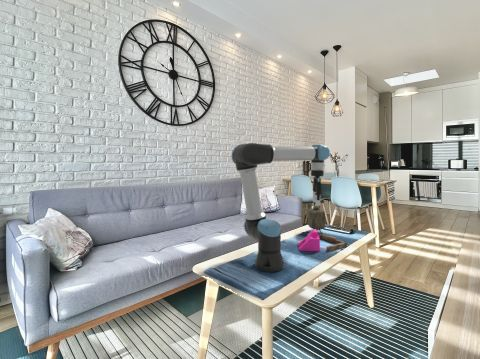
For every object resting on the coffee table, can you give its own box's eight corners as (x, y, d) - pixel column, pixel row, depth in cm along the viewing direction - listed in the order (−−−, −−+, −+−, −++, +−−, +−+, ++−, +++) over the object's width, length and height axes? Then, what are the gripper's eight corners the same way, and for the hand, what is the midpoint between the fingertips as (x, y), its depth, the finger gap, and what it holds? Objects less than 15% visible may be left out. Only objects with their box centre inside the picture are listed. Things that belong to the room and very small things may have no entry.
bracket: (316, 245, 160) (316, 229, 159) (319, 251, 150) (319, 234, 149) (297, 245, 161) (297, 229, 161) (299, 250, 151) (299, 234, 150)
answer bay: (328, 251, 149) (328, 246, 149) (303, 241, 168) (303, 236, 168) (346, 246, 156) (346, 241, 156) (321, 237, 175) (321, 232, 175)
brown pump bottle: (324, 235, 179) (325, 201, 177) (312, 235, 180) (312, 201, 178) (318, 229, 194) (319, 198, 192) (307, 230, 194) (307, 198, 192)
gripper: (327, 170, 142) (325, 207, 143) (320, 169, 166) (319, 200, 168) (313, 170, 143) (312, 206, 144) (309, 169, 167) (308, 200, 169)
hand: (316, 203), depth 156 cm, fingers open, 13 cm apart
